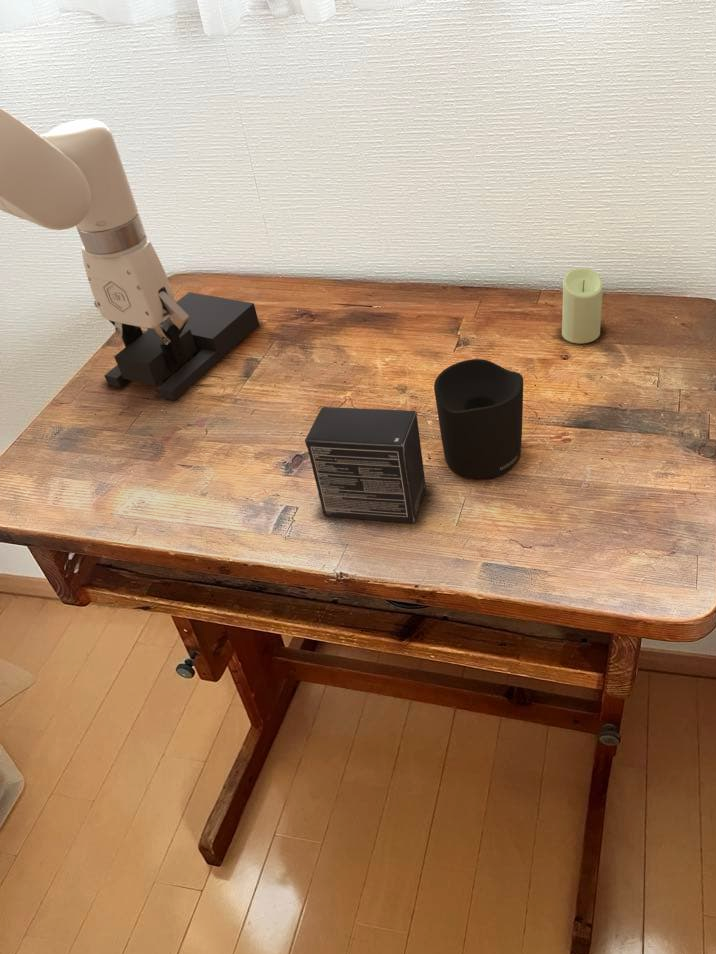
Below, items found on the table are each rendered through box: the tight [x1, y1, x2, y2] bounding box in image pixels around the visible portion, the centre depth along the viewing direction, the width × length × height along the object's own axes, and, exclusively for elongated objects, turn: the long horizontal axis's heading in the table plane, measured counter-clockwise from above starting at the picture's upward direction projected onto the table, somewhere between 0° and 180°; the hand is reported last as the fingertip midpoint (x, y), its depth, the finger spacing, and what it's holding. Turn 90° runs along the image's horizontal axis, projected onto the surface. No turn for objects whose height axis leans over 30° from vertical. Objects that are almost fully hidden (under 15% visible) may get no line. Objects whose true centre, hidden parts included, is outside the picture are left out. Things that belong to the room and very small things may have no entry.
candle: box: [561, 267, 604, 345], centre depth 108 cm, size 5×5×8 cm
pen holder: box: [433, 358, 524, 480], centre depth 91 cm, size 9×9×10 cm
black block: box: [113, 324, 197, 387], centre depth 113 cm, size 9×6×4 cm, turn 153°
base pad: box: [103, 291, 260, 401], centre depth 117 cm, size 20×12×4 cm, turn 153°
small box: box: [304, 406, 427, 524], centre depth 88 cm, size 11×6×10 cm, turn 77°
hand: (158, 359), depth 114 cm, fingers closed on black block, 6 cm apart
